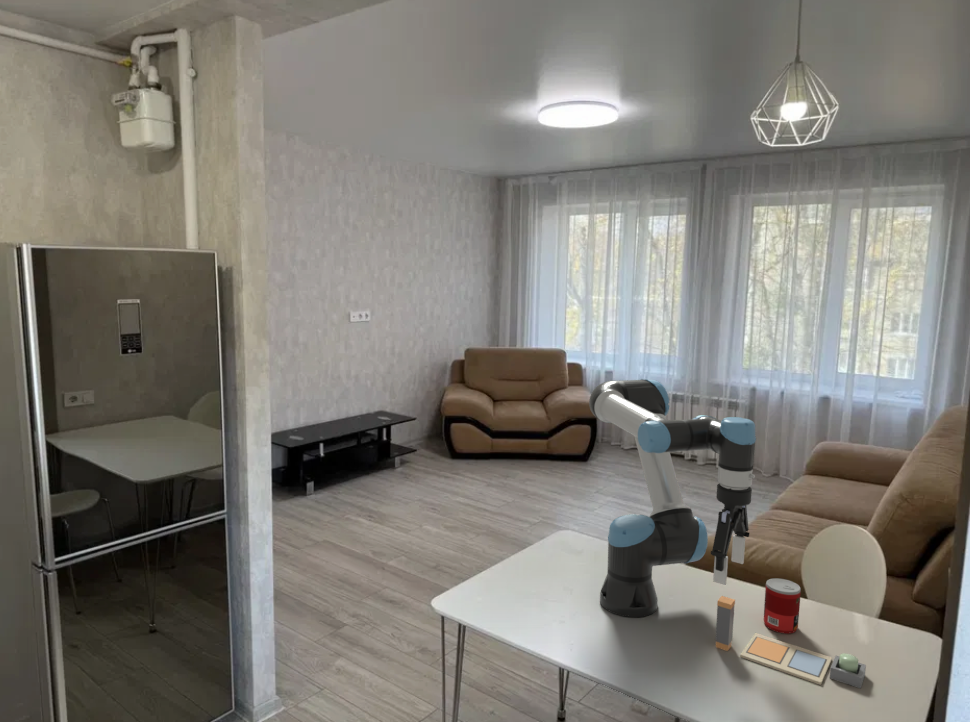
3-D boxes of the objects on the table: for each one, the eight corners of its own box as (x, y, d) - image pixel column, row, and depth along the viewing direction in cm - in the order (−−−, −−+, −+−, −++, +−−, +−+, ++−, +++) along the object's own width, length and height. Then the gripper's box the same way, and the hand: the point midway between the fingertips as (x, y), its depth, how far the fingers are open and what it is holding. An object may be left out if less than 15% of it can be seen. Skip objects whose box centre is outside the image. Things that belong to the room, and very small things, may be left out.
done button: (837, 670, 145) (838, 658, 145) (840, 662, 148) (841, 651, 147) (855, 676, 143) (856, 664, 142) (858, 668, 146) (859, 657, 145)
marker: (714, 647, 157) (717, 600, 155) (719, 641, 159) (721, 595, 158) (728, 651, 155) (730, 604, 153) (732, 645, 157) (735, 599, 156)
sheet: (740, 656, 153) (740, 654, 153) (755, 635, 162) (755, 632, 162) (820, 685, 142) (821, 681, 142) (831, 659, 152) (831, 657, 152)
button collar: (829, 678, 145) (830, 667, 145) (834, 665, 150) (835, 655, 149) (860, 688, 141) (861, 677, 141) (864, 675, 146) (865, 664, 146)
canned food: (801, 636, 162) (804, 593, 160) (766, 632, 163) (769, 590, 162) (793, 620, 169) (796, 579, 168) (760, 616, 171) (763, 576, 170)
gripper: (735, 503, 140) (728, 597, 143) (765, 475, 160) (759, 558, 162) (699, 495, 144) (694, 587, 147) (734, 469, 164) (728, 550, 167)
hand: (728, 572), depth 155 cm, fingers open, 13 cm apart
